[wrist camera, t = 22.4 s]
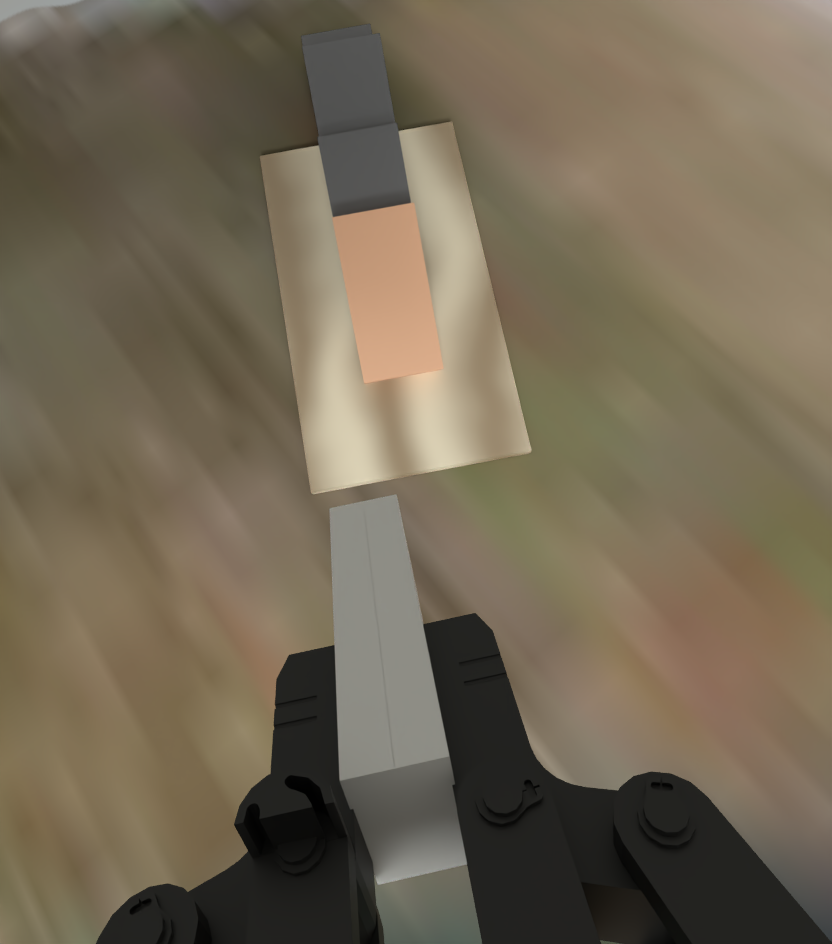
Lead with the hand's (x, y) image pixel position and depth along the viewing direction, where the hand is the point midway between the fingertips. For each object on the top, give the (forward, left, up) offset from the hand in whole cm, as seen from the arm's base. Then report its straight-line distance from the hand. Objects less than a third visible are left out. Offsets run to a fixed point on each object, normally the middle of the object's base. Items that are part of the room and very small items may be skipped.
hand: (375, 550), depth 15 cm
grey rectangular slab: (+2, +26, -23) cm, 35 cm away
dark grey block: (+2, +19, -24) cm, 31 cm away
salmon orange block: (+2, +14, -24) cm, 27 cm away
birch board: (+2, +20, -25) cm, 32 cm away
